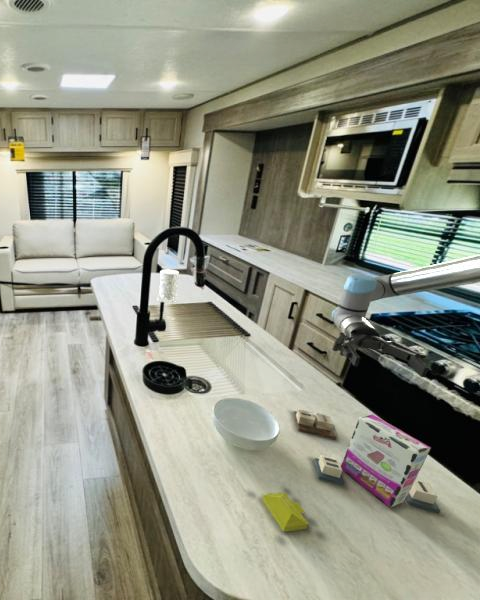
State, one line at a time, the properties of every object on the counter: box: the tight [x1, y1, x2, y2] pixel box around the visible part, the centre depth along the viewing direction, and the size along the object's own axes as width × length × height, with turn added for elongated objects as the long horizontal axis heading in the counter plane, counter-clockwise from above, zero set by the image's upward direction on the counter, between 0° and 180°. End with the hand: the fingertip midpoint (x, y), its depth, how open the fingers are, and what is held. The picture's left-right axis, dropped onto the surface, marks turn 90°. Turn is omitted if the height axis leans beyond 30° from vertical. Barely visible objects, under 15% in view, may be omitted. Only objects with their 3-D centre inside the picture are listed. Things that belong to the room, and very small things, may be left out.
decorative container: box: [157, 268, 180, 304], centre depth 189 cm, size 12×12×18 cm
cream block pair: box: [292, 408, 337, 441], centre depth 92 cm, size 9×8×4 cm
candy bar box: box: [340, 414, 432, 509], centre depth 72 cm, size 11×5×16 cm, turn 17°
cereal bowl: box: [211, 397, 281, 451], centre depth 89 cm, size 17×17×7 cm
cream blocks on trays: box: [312, 454, 441, 514], centre depth 75 cm, size 22×6×4 cm, turn 66°
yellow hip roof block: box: [256, 489, 322, 541], centre depth 69 cm, size 10×9×3 cm
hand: (390, 367), depth 81 cm, fingers open, 13 cm apart
